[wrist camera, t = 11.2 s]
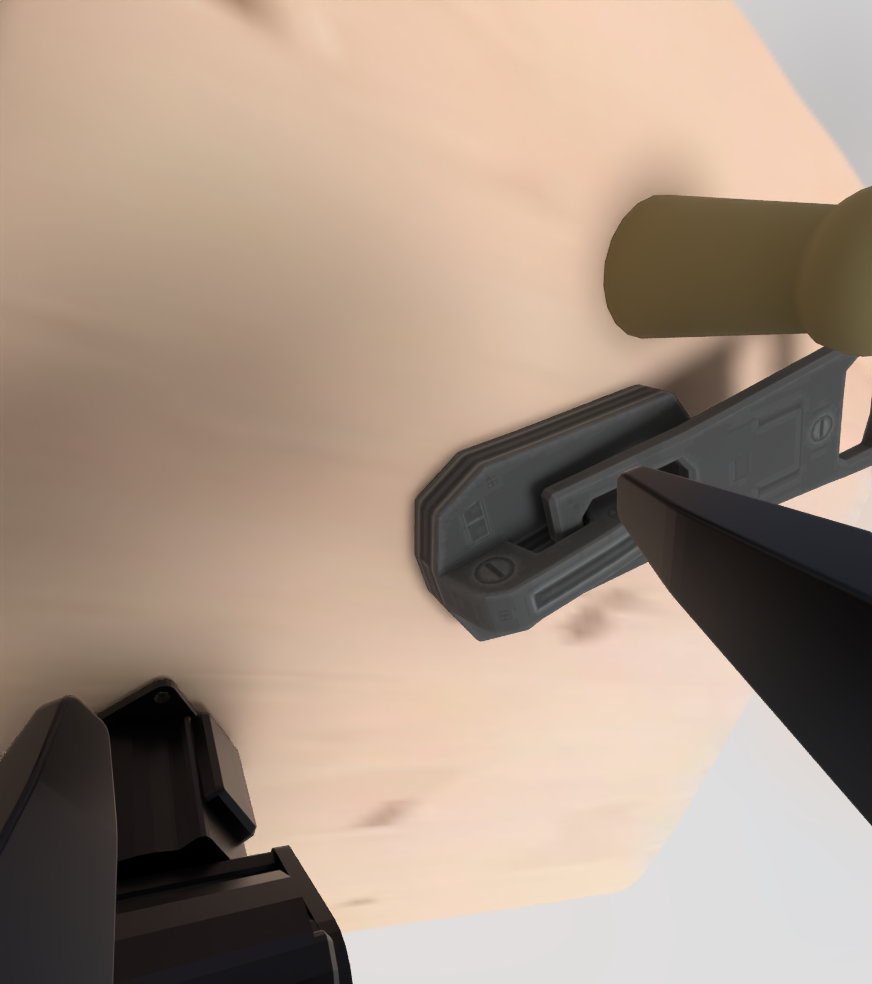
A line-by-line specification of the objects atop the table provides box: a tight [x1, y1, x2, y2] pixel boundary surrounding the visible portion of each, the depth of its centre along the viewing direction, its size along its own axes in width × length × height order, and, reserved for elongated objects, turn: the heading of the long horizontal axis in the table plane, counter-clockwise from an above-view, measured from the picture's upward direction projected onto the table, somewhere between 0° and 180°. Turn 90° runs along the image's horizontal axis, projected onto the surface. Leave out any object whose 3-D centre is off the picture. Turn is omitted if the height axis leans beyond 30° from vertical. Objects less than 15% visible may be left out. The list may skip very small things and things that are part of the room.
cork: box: [604, 186, 872, 357], centre depth 21 cm, size 6×6×11 cm
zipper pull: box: [415, 346, 872, 641], centre depth 26 cm, size 9×7×25 cm
